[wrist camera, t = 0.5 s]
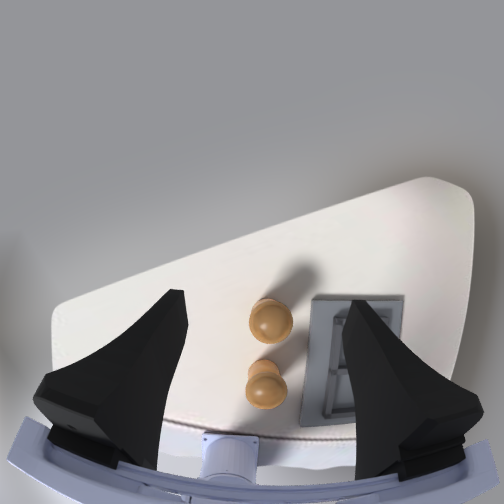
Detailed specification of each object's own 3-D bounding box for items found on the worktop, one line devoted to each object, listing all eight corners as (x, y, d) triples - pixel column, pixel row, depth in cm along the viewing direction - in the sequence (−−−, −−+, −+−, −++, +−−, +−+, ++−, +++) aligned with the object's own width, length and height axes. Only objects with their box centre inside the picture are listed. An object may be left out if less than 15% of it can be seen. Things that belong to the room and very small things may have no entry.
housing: (381, 415, 35) (388, 422, 32) (299, 423, 34) (302, 432, 32) (399, 300, 36) (408, 301, 33) (311, 299, 36) (315, 301, 33)
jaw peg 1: (284, 332, 35) (291, 344, 29) (247, 331, 35) (248, 343, 29) (286, 296, 36) (294, 301, 30) (249, 295, 36) (250, 300, 30)
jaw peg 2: (279, 389, 35) (285, 409, 29) (244, 388, 35) (244, 408, 29) (282, 357, 35) (288, 373, 29) (246, 356, 35) (246, 372, 29)
